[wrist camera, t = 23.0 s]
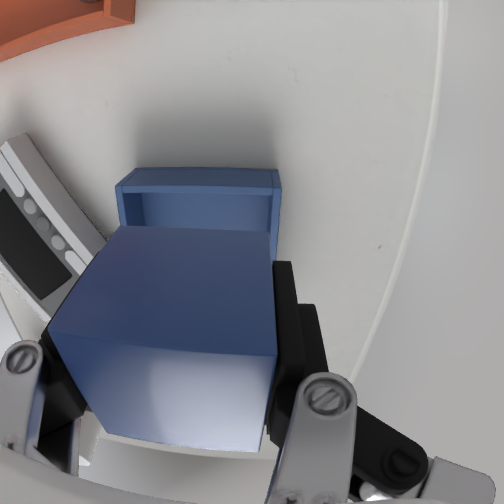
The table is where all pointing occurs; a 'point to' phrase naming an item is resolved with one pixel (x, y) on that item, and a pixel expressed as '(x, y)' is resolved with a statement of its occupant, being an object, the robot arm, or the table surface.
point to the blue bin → (202, 199)
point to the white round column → (88, 437)
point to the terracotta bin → (56, 21)
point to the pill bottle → (89, 1)
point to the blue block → (175, 336)
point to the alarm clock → (40, 229)
